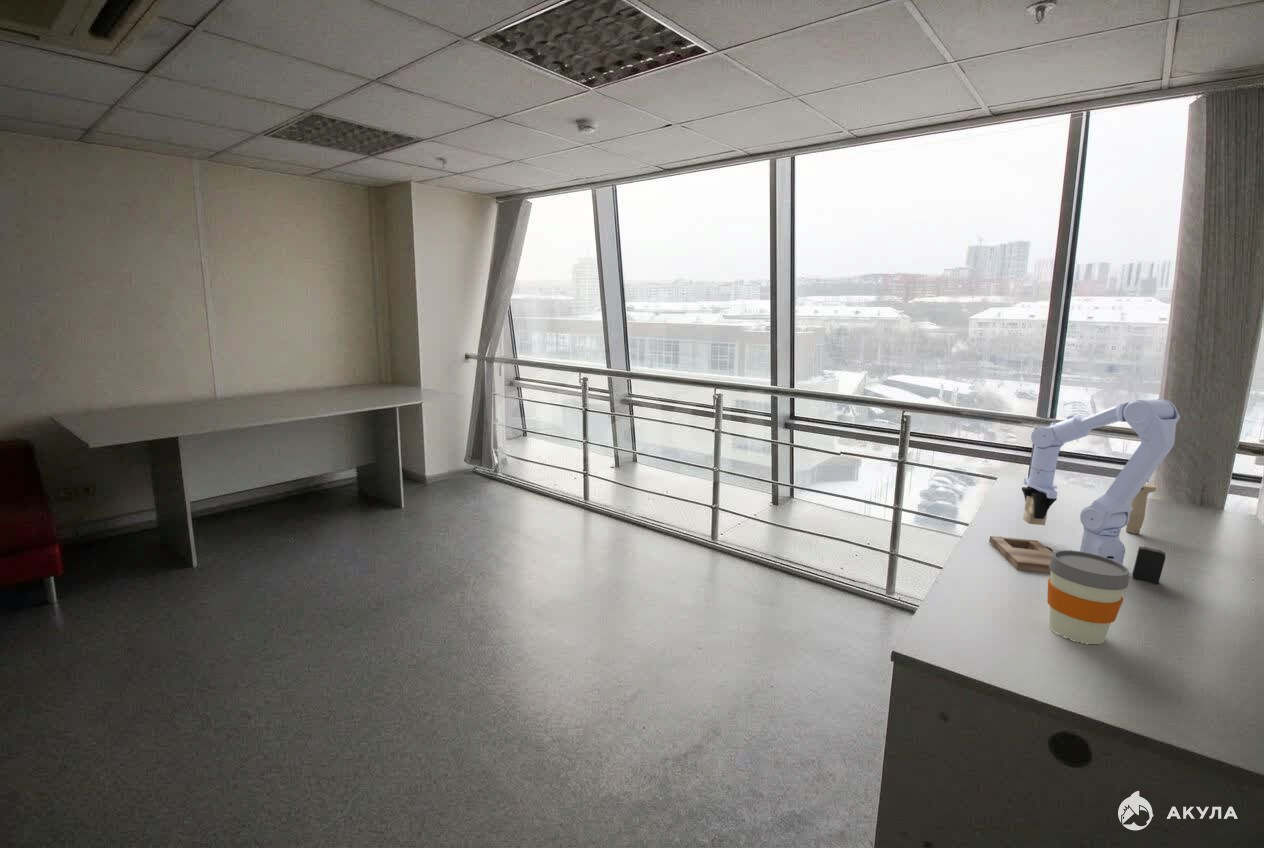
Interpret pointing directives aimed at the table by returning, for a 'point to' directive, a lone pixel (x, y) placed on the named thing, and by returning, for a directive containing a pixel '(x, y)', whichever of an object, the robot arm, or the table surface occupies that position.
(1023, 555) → the slotted walnut block
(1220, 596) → the table surface
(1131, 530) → the handle
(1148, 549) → the ink cartridge
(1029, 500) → the maple peg
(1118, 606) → the reusable coffee cup
